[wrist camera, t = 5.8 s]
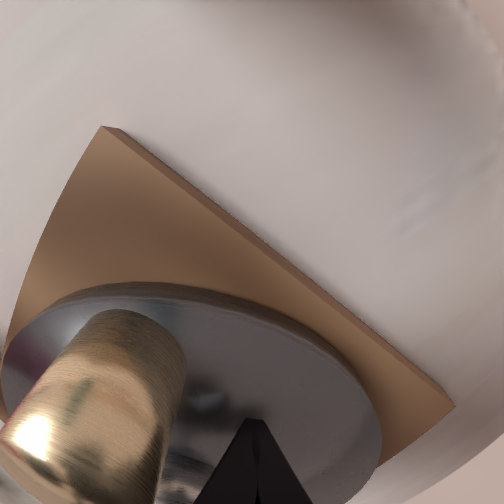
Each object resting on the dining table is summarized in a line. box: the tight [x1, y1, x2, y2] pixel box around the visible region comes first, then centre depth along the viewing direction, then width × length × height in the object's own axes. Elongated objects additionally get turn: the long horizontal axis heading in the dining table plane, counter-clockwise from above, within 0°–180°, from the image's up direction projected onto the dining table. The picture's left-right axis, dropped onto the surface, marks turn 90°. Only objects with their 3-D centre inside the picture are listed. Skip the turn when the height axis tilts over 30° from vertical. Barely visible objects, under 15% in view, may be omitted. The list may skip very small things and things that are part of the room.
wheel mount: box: [0, 126, 455, 468], centre depth 13 cm, size 20×20×2 cm
